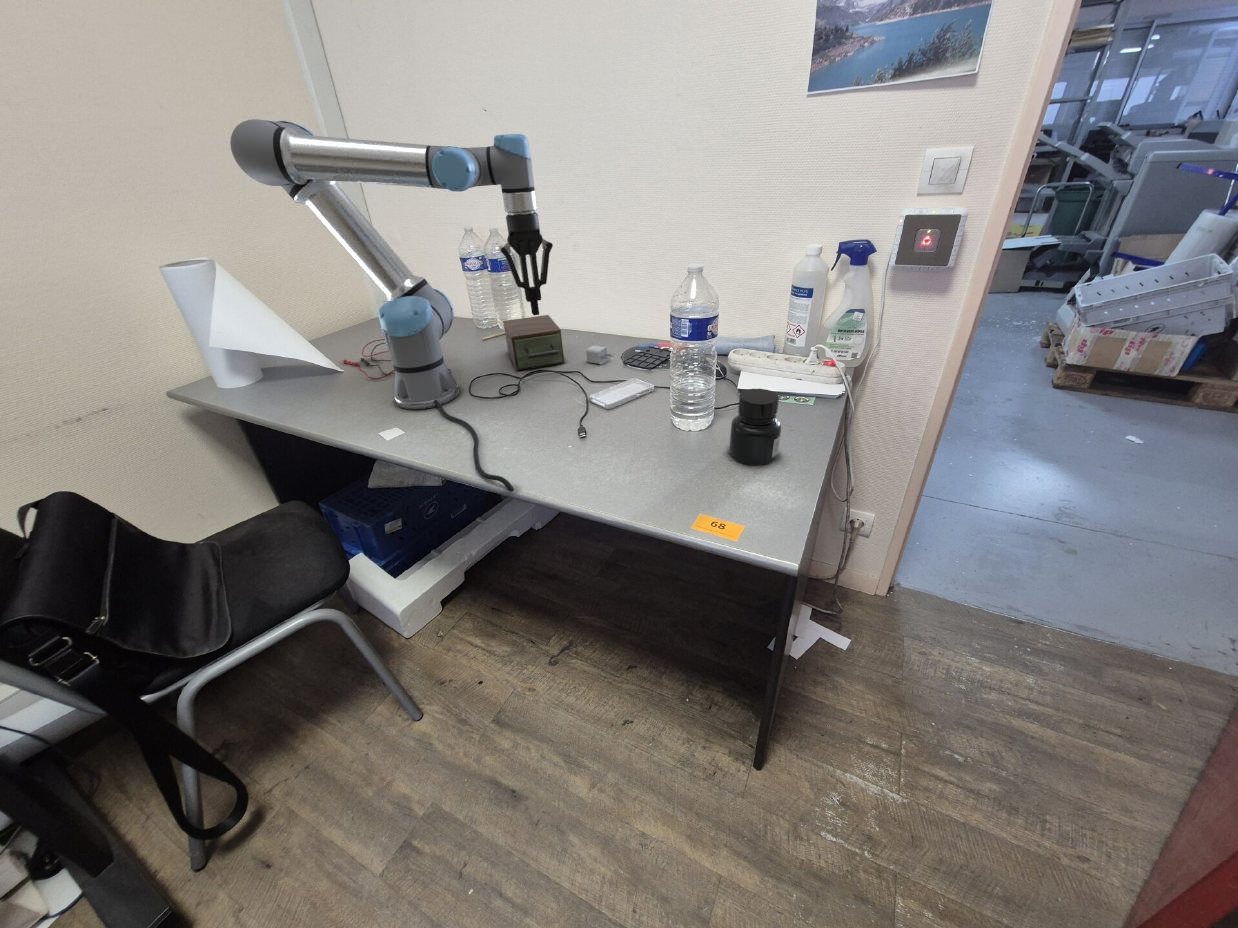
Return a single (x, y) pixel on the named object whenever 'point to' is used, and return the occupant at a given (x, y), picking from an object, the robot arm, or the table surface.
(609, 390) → the phone case
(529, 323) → the cabinet
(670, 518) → the table surface
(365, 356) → the multimeter test leads
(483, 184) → the robot arm
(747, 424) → the ink bottle
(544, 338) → the drawer
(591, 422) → the table surface
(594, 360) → the usb wall charger
